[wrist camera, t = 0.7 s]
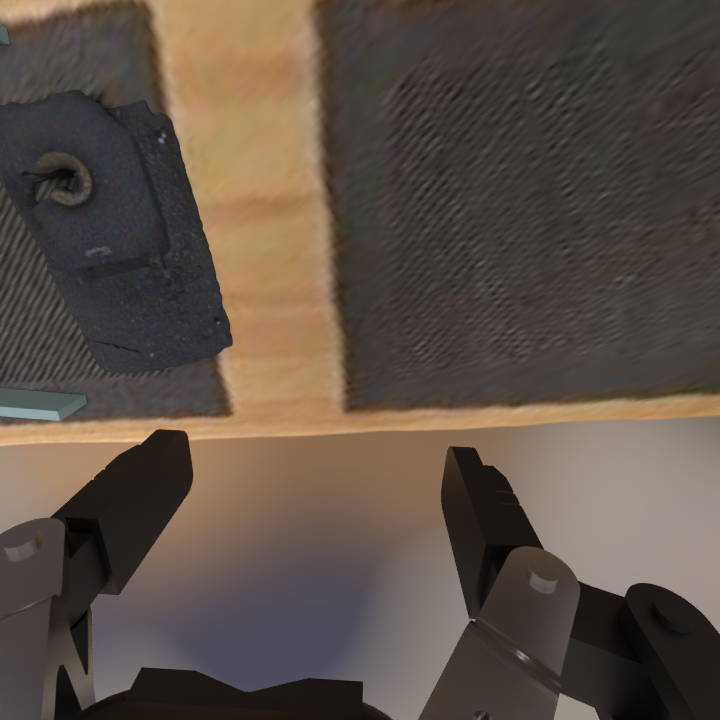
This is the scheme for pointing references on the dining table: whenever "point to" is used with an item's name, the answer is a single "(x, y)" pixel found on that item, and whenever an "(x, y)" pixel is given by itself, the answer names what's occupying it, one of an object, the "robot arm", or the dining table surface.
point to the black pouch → (116, 229)
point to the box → (36, 401)
